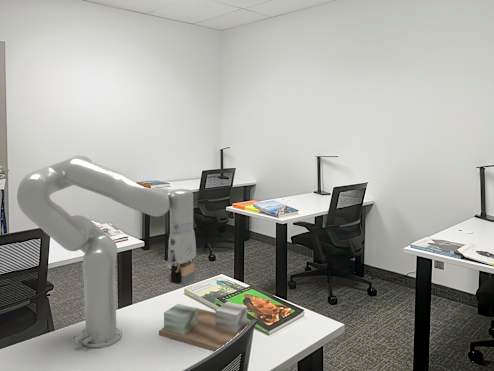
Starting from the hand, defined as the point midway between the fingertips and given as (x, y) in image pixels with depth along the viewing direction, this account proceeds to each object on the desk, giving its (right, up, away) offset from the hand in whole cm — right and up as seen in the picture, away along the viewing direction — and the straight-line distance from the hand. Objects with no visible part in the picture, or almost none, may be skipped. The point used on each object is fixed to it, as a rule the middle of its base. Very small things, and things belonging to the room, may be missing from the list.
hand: (181, 279), depth 141 cm
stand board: (+8, -18, +4) cm, 20 cm away
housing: (0, 0, 0) cm, 1 cm away
